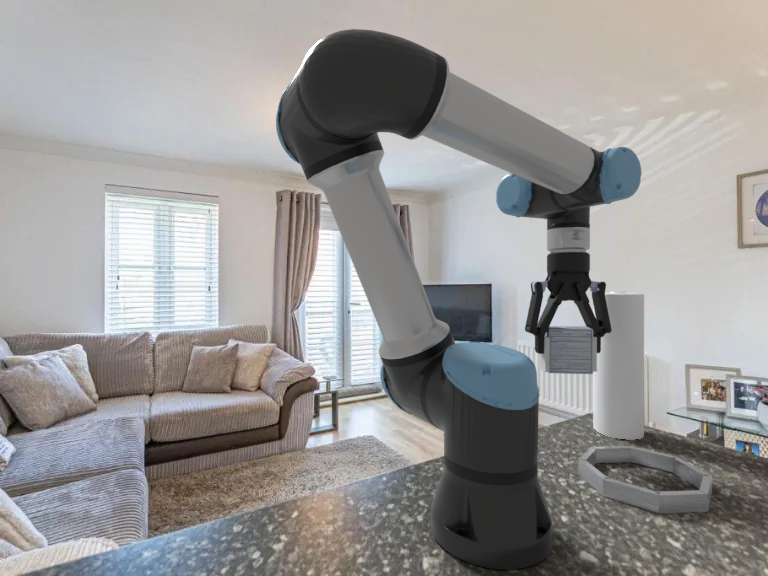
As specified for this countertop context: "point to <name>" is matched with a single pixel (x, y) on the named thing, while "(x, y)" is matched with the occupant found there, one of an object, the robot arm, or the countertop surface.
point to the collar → (643, 496)
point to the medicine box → (570, 349)
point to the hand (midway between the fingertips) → (567, 370)
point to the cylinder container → (621, 369)
